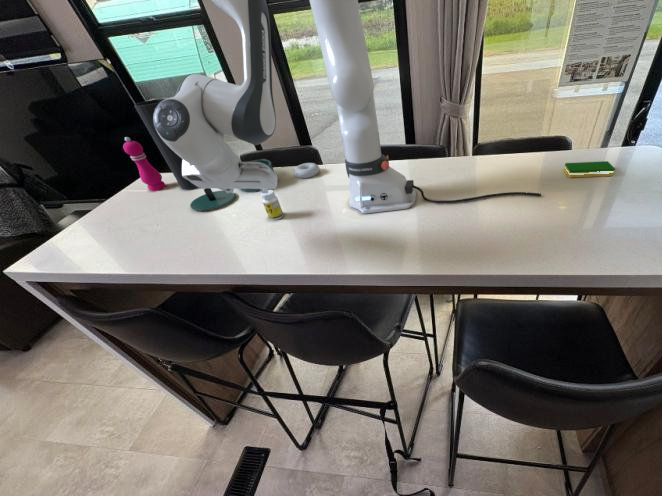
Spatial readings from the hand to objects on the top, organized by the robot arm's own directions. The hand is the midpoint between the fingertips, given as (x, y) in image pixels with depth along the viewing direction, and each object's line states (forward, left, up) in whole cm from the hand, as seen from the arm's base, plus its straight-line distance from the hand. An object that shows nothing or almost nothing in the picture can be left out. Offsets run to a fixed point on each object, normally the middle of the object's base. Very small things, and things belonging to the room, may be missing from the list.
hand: (248, 190), depth 87 cm
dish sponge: (-101, -38, -14) cm, 109 cm away
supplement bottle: (+2, -12, -14) cm, 19 cm away
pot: (+21, -39, -14) cm, 46 cm away
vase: (+51, -41, -14) cm, 67 cm away
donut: (+3, -47, -14) cm, 49 cm away
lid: (+32, -24, -14) cm, 42 cm away
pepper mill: (+67, -39, -14) cm, 79 cm away
